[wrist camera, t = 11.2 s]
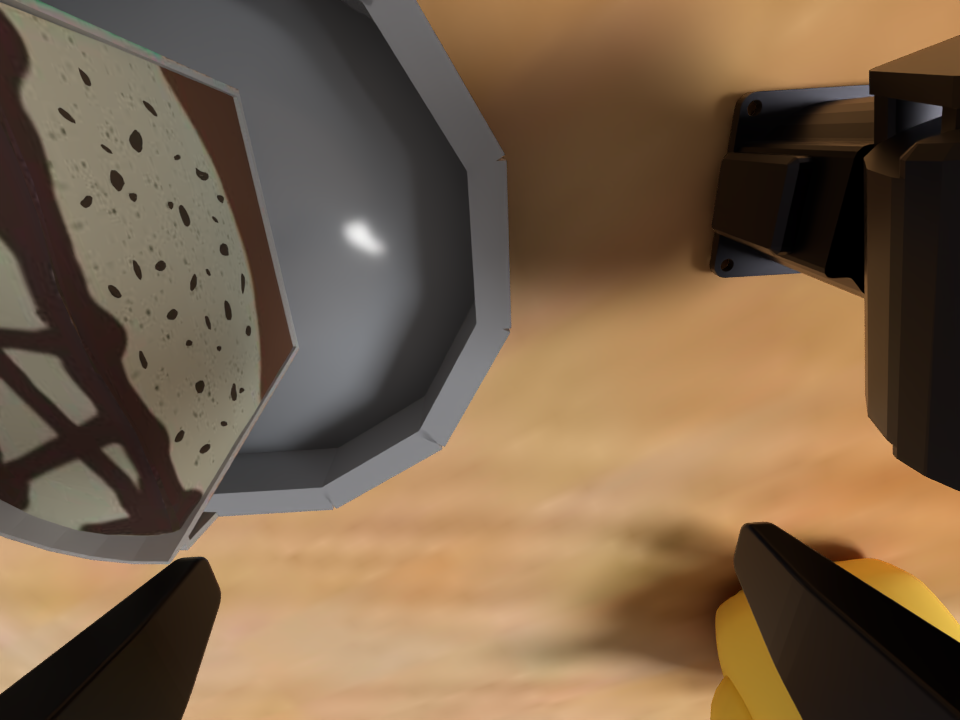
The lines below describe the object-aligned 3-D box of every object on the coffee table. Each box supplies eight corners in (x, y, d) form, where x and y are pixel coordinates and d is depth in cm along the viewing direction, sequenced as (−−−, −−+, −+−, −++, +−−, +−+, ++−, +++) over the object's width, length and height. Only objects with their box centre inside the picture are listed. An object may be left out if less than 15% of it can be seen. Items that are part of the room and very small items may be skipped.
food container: (30, 45, 15) (-663, -99, 6) (226, 34, 15) (-154, -125, 6) (163, 388, 20) (-86, 595, 11) (307, 380, 20) (177, 580, 11)
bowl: (489, -127, 14) (496, -205, 11) (509, 448, 23) (515, 498, 20) (-213, -86, 14) (-413, -151, 11) (83, 474, 23) (21, 528, 20)
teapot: (793, 698, 33) (923, 919, 24) (640, 654, 30) (718, 884, 21) (951, 570, 28) (1196, 789, 18) (782, 503, 25) (969, 720, 16)
